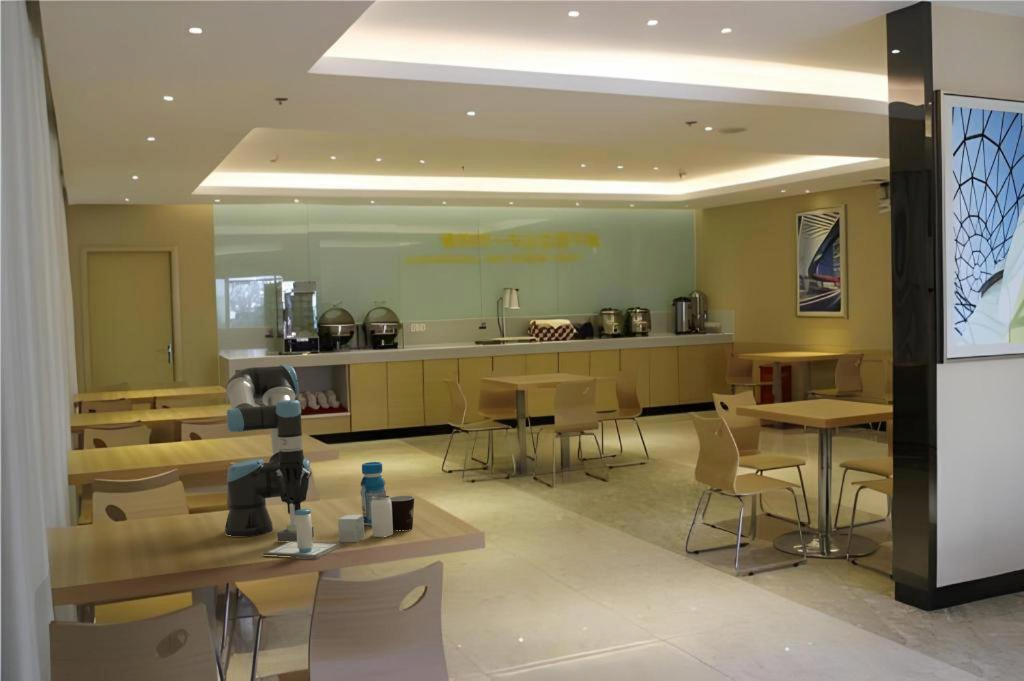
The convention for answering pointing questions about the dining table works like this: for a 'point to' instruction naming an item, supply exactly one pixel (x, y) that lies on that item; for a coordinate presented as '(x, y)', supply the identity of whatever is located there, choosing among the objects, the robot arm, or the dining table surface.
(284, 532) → the button box
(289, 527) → the button
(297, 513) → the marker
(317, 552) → the picture board
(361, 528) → the product box
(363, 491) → the beverage bottle
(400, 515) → the coffee mug
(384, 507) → the can
